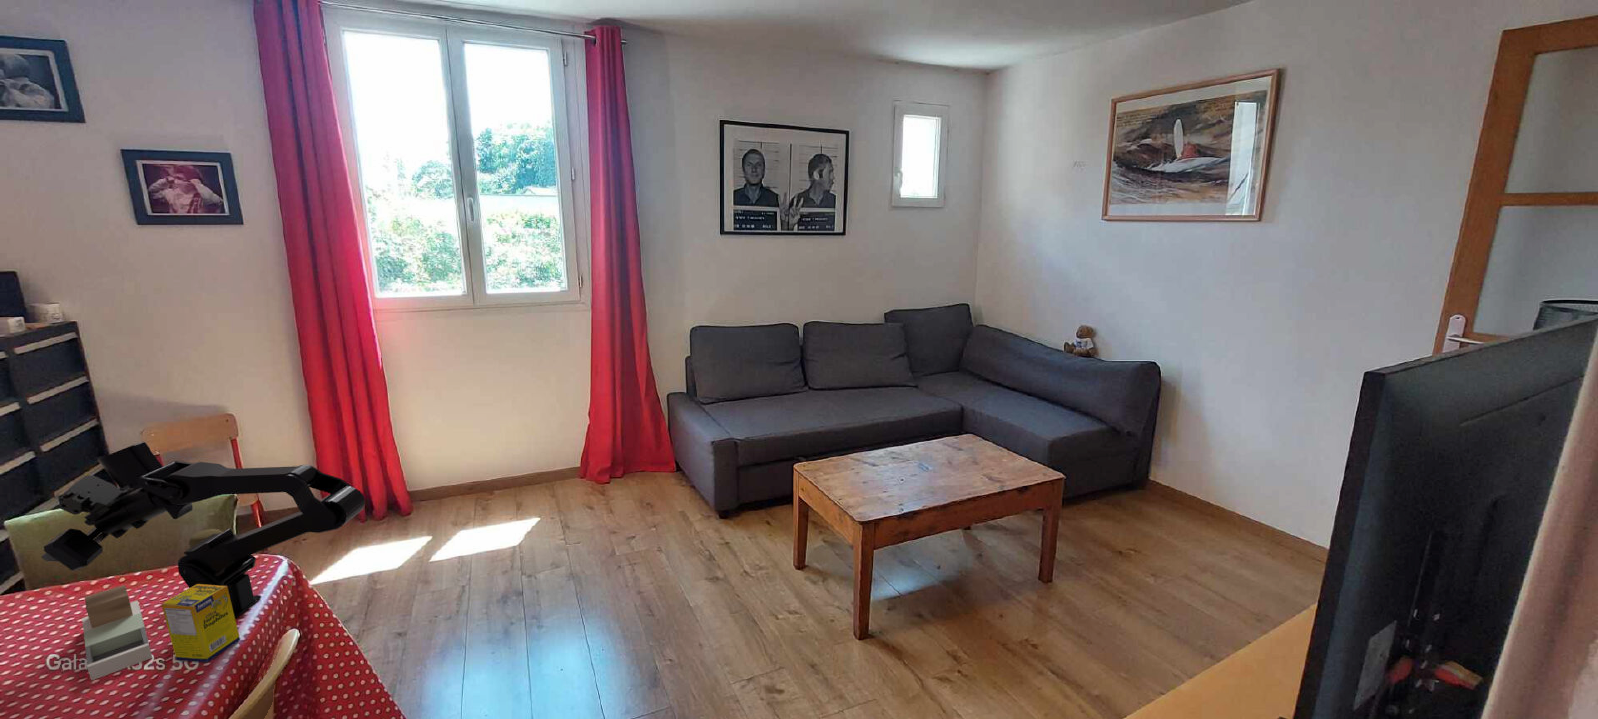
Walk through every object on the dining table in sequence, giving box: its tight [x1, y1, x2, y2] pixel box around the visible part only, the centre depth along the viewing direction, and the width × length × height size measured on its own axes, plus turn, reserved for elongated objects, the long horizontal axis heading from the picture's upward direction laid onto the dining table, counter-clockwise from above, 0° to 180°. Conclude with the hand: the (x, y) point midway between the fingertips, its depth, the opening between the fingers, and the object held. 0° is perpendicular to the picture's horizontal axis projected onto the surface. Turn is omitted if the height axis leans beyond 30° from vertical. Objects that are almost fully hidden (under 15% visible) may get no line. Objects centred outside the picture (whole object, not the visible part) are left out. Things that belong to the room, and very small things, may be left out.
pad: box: [83, 612, 148, 657], centre depth 111 cm, size 6×7×2 cm
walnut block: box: [84, 584, 133, 628], centre depth 114 cm, size 5×5×4 cm
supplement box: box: [161, 584, 241, 664], centre depth 108 cm, size 6×6×11 cm
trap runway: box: [81, 600, 153, 681], centre depth 112 cm, size 22×7×2 cm, turn 49°
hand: (66, 540), depth 115 cm, fingers open, 9 cm apart
